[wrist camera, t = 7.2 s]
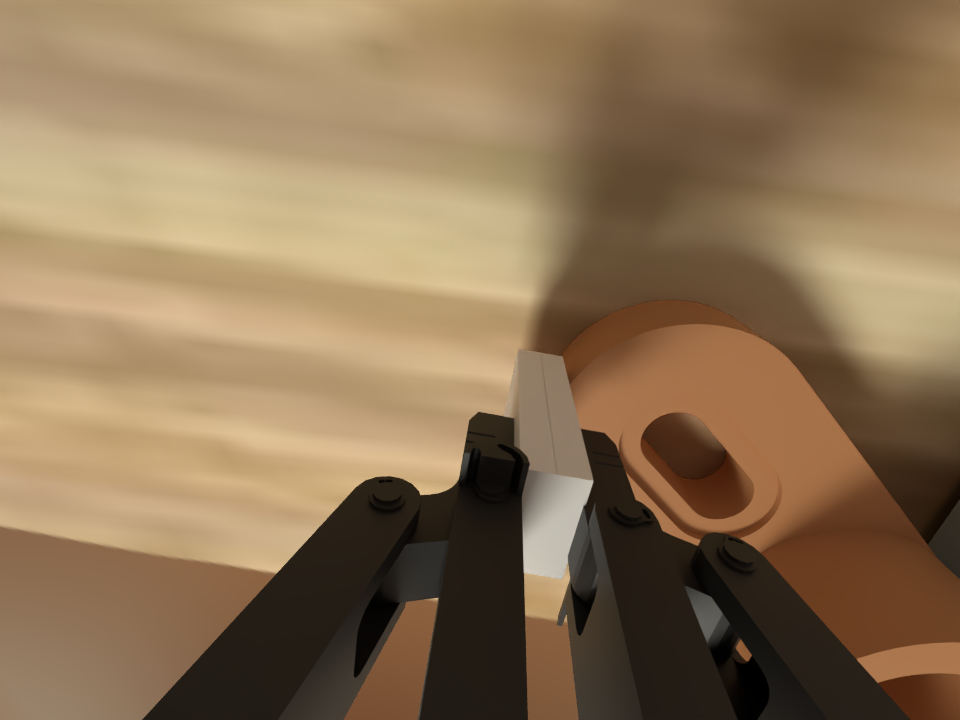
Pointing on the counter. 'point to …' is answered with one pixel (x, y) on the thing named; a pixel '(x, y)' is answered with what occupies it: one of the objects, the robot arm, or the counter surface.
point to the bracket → (775, 487)
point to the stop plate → (948, 541)
